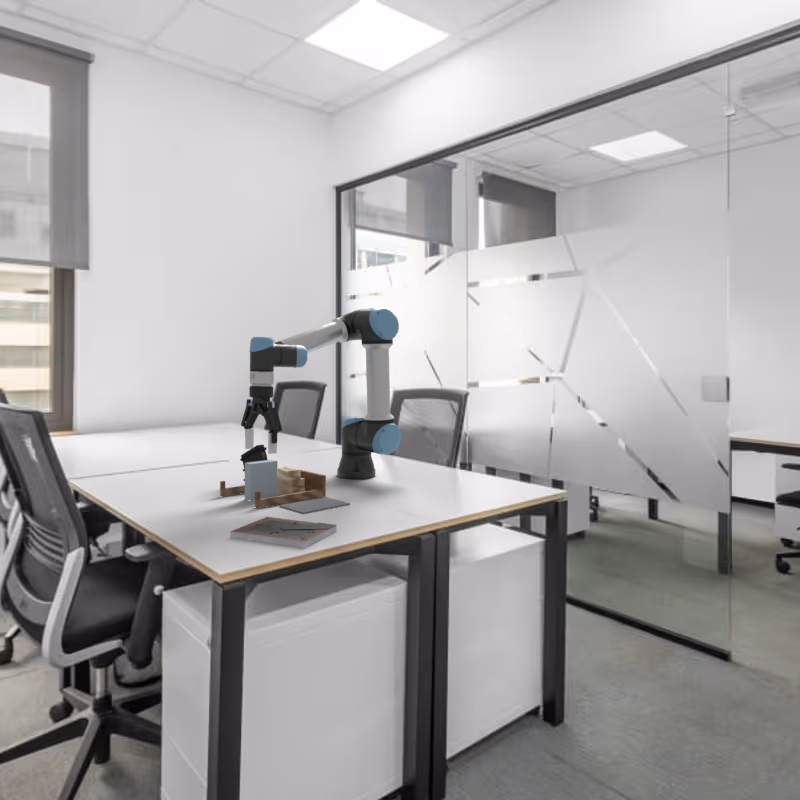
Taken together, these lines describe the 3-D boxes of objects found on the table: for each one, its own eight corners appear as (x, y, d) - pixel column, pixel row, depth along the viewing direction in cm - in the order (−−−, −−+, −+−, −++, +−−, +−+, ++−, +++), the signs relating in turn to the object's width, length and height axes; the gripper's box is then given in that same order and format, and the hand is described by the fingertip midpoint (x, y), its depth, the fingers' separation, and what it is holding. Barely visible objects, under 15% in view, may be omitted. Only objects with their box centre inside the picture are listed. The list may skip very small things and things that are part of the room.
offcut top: (290, 475, 212) (290, 466, 212) (300, 478, 207) (300, 469, 207) (277, 477, 209) (277, 468, 209) (287, 480, 204) (287, 471, 204)
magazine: (268, 486, 212) (256, 445, 215) (247, 497, 220) (236, 457, 223) (277, 484, 215) (265, 444, 218) (256, 495, 223) (245, 456, 226)
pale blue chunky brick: (271, 495, 206) (271, 459, 205) (277, 497, 203) (277, 461, 202) (244, 499, 198) (244, 462, 198) (250, 501, 196) (250, 464, 195)
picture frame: (336, 533, 164) (266, 524, 172) (336, 524, 164) (267, 515, 172) (304, 551, 149) (230, 540, 156) (305, 540, 148) (230, 530, 156)
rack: (286, 486, 221) (287, 466, 221) (325, 496, 205) (325, 475, 205) (220, 496, 203) (220, 475, 202) (257, 508, 187) (257, 485, 186)
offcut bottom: (287, 491, 214) (287, 483, 214) (305, 496, 207) (305, 487, 207) (273, 494, 210) (273, 485, 210) (290, 499, 203) (290, 490, 203)
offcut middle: (287, 483, 214) (287, 474, 213) (304, 487, 208) (304, 478, 207) (273, 486, 209) (273, 477, 209) (290, 489, 203) (290, 480, 203)
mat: (326, 498, 203) (326, 497, 203) (349, 504, 194) (349, 503, 194) (279, 506, 190) (279, 505, 190) (303, 513, 181) (303, 512, 181)
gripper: (231, 383, 205) (230, 447, 206) (273, 386, 187) (272, 456, 188) (250, 383, 210) (250, 445, 211) (293, 386, 192) (292, 454, 193)
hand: (260, 451), depth 200 cm, fingers open, 13 cm apart
